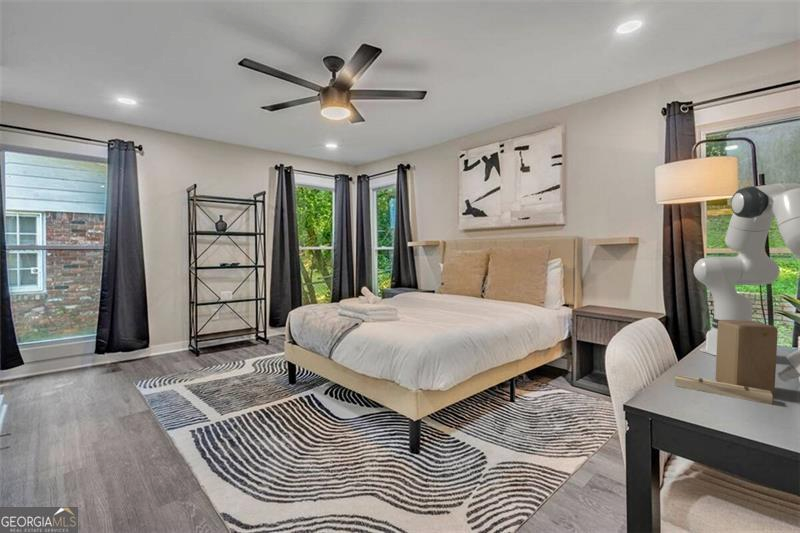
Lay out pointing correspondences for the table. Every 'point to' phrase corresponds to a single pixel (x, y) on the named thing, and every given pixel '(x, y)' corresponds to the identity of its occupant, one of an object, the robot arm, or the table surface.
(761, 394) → the maple board
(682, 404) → the table surface
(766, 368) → the wooden block
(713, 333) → the robot arm
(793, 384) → the table surface
